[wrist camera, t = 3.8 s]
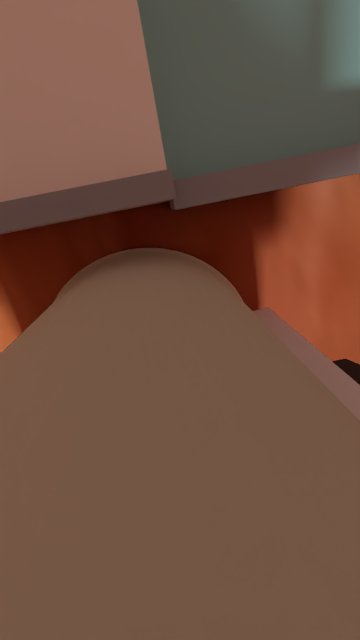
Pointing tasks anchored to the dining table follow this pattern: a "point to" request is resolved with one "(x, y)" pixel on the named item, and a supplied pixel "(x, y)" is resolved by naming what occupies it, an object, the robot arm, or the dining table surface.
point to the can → (171, 468)
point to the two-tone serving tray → (171, 102)
